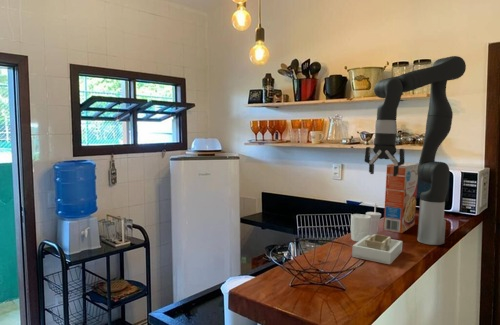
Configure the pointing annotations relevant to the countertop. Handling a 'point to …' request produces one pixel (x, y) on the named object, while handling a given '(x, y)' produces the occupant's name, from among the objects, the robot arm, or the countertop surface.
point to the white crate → (377, 251)
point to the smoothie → (374, 221)
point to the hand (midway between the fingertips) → (383, 175)
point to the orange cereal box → (400, 198)
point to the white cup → (360, 226)
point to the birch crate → (378, 242)
